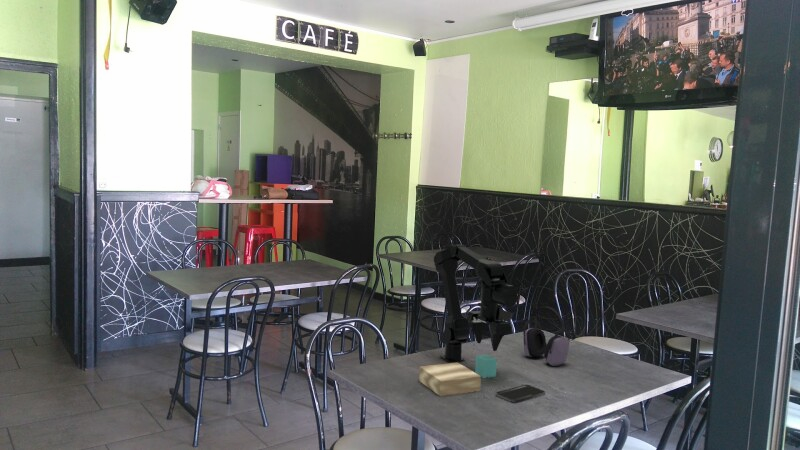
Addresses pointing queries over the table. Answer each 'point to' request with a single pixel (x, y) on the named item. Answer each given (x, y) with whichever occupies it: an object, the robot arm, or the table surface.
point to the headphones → (537, 344)
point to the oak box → (449, 379)
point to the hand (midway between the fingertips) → (486, 346)
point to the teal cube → (486, 366)
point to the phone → (520, 393)
